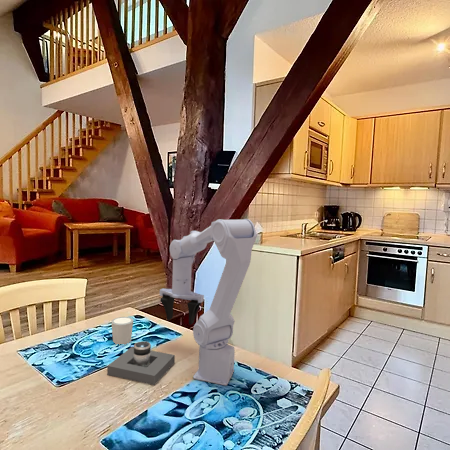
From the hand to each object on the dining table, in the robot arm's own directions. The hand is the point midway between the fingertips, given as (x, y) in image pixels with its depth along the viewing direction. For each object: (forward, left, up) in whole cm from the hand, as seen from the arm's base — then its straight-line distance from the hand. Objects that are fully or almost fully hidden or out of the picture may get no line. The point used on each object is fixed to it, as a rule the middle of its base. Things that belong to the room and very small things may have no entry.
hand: (180, 321), depth 104 cm
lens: (+5, +14, -9) cm, 18 cm away
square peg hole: (+5, +14, -9) cm, 18 cm away
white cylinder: (+20, +1, -10) cm, 22 cm away
